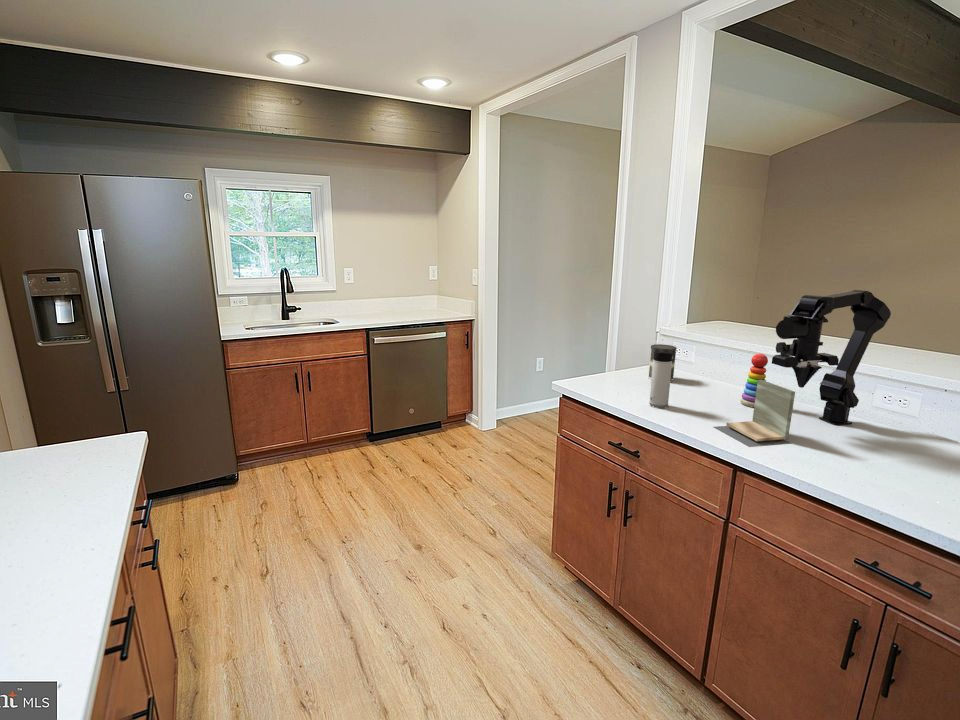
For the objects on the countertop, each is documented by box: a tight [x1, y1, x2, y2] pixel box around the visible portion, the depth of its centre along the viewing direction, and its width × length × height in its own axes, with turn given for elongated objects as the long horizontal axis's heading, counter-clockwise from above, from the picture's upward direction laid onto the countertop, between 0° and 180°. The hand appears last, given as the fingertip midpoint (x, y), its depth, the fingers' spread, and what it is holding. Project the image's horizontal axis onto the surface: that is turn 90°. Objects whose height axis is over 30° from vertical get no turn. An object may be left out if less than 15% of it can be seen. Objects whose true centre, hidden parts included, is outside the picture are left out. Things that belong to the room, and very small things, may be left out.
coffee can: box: [648, 343, 678, 381], centre depth 208 cm, size 10×10×14 cm
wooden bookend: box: [726, 380, 796, 442], centre depth 144 cm, size 10×13×15 cm
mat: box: [713, 425, 793, 448], centre depth 146 cm, size 14×16×1 cm
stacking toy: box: [739, 353, 769, 408], centre depth 173 cm, size 8×8×19 cm
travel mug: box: [648, 351, 673, 409], centre depth 171 cm, size 6×7×20 cm
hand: (800, 387), depth 150 cm, fingers closed
